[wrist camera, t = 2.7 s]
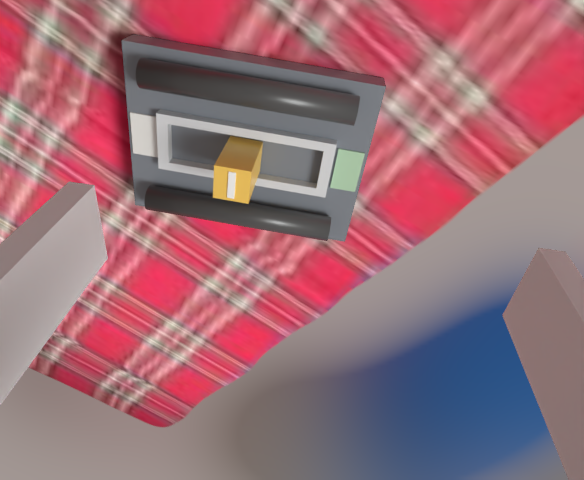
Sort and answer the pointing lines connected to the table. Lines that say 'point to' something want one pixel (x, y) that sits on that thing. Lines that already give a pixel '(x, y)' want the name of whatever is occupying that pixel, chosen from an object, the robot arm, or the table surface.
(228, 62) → the panel
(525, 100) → the table surface
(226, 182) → the lever
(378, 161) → the table surface
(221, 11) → the table surface
